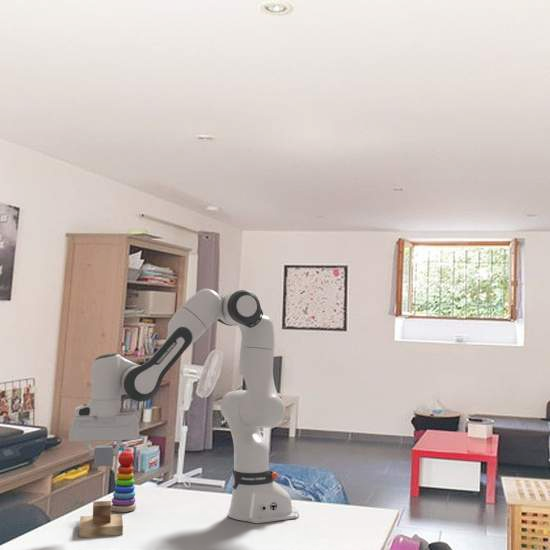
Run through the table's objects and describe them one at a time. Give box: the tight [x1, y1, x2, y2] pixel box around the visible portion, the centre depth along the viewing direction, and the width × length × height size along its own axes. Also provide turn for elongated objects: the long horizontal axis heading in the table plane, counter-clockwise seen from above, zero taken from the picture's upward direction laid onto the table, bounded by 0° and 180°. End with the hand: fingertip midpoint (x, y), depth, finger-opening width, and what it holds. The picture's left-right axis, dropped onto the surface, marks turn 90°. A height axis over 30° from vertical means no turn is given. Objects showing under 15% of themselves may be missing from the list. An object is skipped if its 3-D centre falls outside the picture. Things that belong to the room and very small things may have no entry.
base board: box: [78, 513, 124, 538], centre depth 187 cm, size 12×12×2 cm
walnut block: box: [92, 500, 112, 524], centre depth 187 cm, size 5×5×5 cm
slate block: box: [93, 445, 114, 468], centre depth 189 cm, size 5×5×5 cm
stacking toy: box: [111, 450, 137, 513], centre depth 209 cm, size 8×8×19 cm
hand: (103, 456), depth 189 cm, fingers closed on slate block, 5 cm apart
